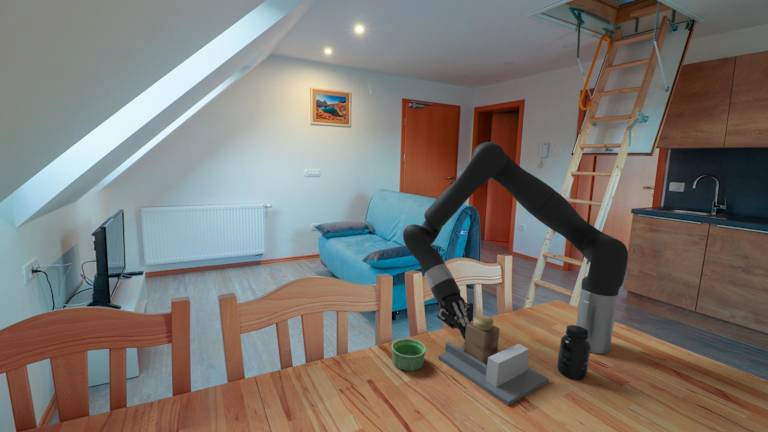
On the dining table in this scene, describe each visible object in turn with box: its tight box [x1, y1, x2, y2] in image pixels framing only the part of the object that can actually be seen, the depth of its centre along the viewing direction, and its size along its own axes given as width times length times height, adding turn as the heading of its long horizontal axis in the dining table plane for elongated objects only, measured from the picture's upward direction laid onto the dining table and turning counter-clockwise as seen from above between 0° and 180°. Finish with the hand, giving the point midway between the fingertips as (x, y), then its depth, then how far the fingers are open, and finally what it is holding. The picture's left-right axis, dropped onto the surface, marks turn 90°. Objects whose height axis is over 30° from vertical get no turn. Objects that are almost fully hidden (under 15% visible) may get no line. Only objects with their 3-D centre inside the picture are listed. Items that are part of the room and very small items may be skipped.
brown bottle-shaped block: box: [463, 314, 501, 365], centre depth 95 cm, size 6×6×11 cm
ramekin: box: [391, 338, 427, 372], centre depth 94 cm, size 9×9×4 cm
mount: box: [437, 341, 550, 406], centre depth 93 cm, size 16×23×7 cm
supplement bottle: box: [556, 324, 591, 381], centre depth 92 cm, size 7×7×12 cm
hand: (470, 340), depth 98 cm, fingers closed
